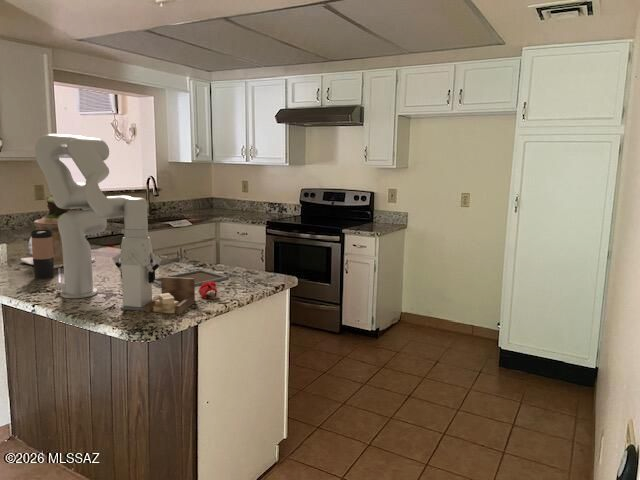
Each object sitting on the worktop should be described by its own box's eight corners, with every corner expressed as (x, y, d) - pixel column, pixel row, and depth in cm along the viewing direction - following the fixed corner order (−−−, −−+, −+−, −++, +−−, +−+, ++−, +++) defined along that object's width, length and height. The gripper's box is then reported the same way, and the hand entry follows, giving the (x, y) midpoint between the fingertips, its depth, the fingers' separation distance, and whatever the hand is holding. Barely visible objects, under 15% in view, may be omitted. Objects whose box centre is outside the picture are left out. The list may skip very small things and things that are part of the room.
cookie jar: (47, 270, 218) (43, 199, 213) (18, 263, 231) (13, 196, 225) (97, 261, 239) (94, 196, 234) (68, 255, 252) (64, 193, 246)
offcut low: (153, 313, 166) (153, 307, 166) (159, 309, 170) (159, 303, 170) (174, 315, 165) (174, 309, 164) (180, 311, 169) (180, 305, 168)
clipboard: (228, 276, 213) (169, 289, 190) (228, 280, 213) (169, 293, 190) (202, 269, 225) (142, 280, 202) (202, 272, 225) (143, 284, 202)
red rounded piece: (222, 289, 185) (217, 278, 188) (210, 286, 180) (204, 275, 184) (211, 303, 187) (205, 292, 191) (198, 301, 183) (193, 290, 186)
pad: (120, 309, 168) (120, 307, 167) (132, 301, 176) (132, 300, 176) (145, 310, 167) (145, 308, 167) (156, 302, 176) (156, 301, 176)
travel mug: (48, 274, 212) (45, 229, 208) (58, 277, 208) (55, 230, 204) (30, 277, 205) (27, 231, 202) (40, 280, 201) (37, 233, 198)
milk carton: (122, 306, 169) (120, 252, 166) (134, 300, 176) (132, 249, 172) (141, 308, 167) (139, 254, 164) (152, 302, 174) (150, 250, 171)
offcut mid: (155, 306, 167) (154, 300, 167) (163, 303, 170) (163, 297, 170) (170, 310, 163) (170, 304, 163) (178, 307, 167) (178, 301, 166)
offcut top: (158, 299, 168) (158, 294, 168) (169, 297, 170) (168, 292, 170) (163, 304, 163) (163, 299, 163) (174, 302, 165) (174, 297, 164)
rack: (145, 313, 164) (144, 287, 163) (163, 300, 179) (162, 276, 178) (179, 314, 163) (179, 289, 162) (194, 301, 178) (194, 278, 177)
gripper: (106, 234, 164) (109, 283, 167) (156, 236, 163) (157, 285, 166) (117, 230, 172) (119, 277, 175) (165, 232, 170) (166, 280, 173)
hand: (138, 281), depth 170 cm, fingers open, 9 cm apart
